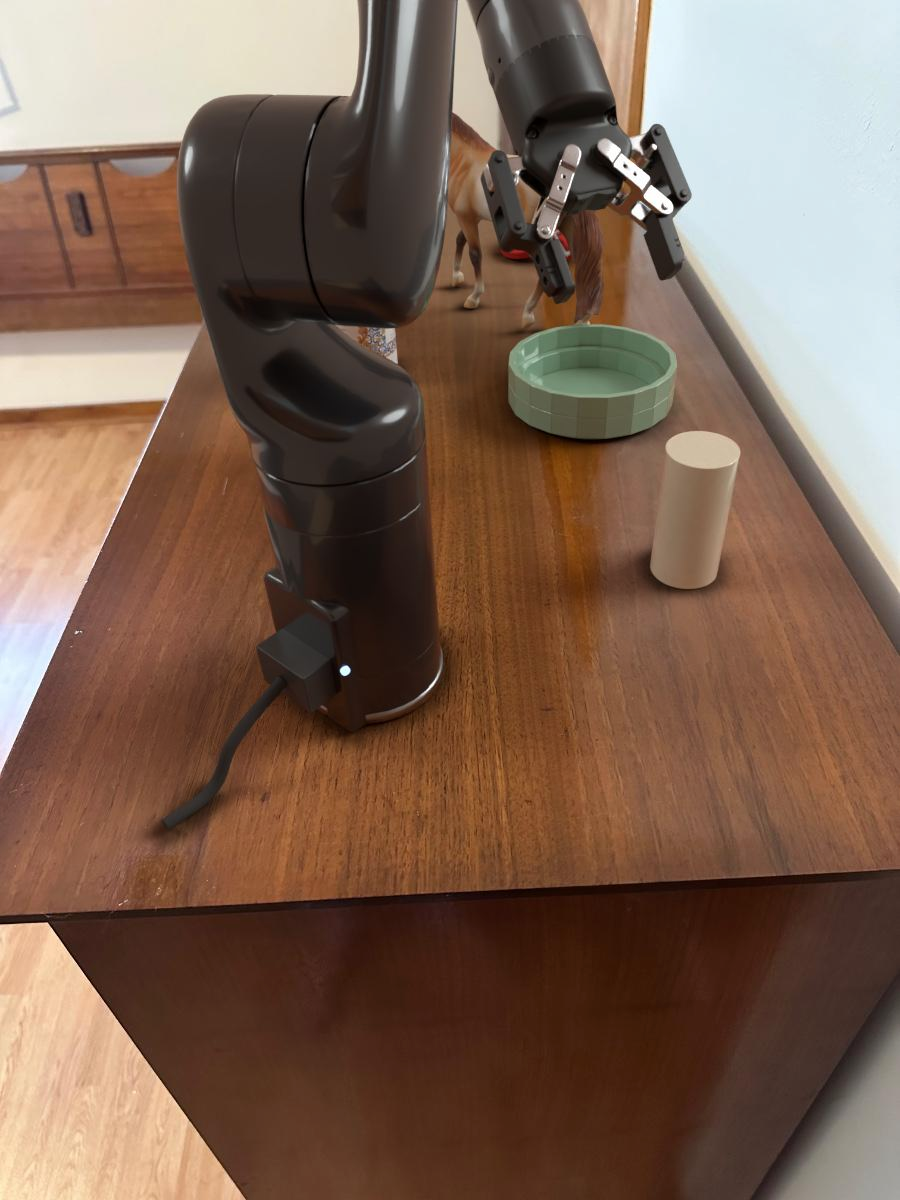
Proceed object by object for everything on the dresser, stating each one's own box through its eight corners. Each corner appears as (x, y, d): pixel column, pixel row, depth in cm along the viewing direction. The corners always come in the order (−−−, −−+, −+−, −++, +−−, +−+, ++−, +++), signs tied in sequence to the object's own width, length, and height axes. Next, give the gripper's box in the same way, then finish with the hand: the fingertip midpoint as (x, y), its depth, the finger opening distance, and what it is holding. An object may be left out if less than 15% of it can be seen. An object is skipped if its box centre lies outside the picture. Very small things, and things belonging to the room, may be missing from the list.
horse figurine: (400, 289, 108) (386, 98, 95) (449, 273, 112) (442, 86, 98) (586, 371, 89) (601, 146, 76) (638, 348, 93) (660, 130, 80)
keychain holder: (487, 251, 113) (509, 208, 118) (498, 281, 116) (519, 238, 121) (578, 237, 107) (597, 192, 113) (587, 269, 110) (605, 224, 116)
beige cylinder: (695, 598, 62) (717, 476, 56) (637, 571, 65) (651, 452, 58) (729, 565, 65) (754, 445, 58) (672, 540, 67) (689, 423, 61)
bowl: (610, 461, 76) (614, 415, 73) (476, 409, 84) (475, 365, 81) (701, 395, 84) (708, 350, 82) (571, 353, 92) (573, 311, 90)
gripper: (467, 43, 56) (549, 281, 56) (656, 19, 60) (735, 240, 60) (438, 119, 64) (511, 330, 63) (609, 93, 68) (679, 291, 67)
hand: (620, 286), depth 61 cm, fingers open, 8 cm apart
